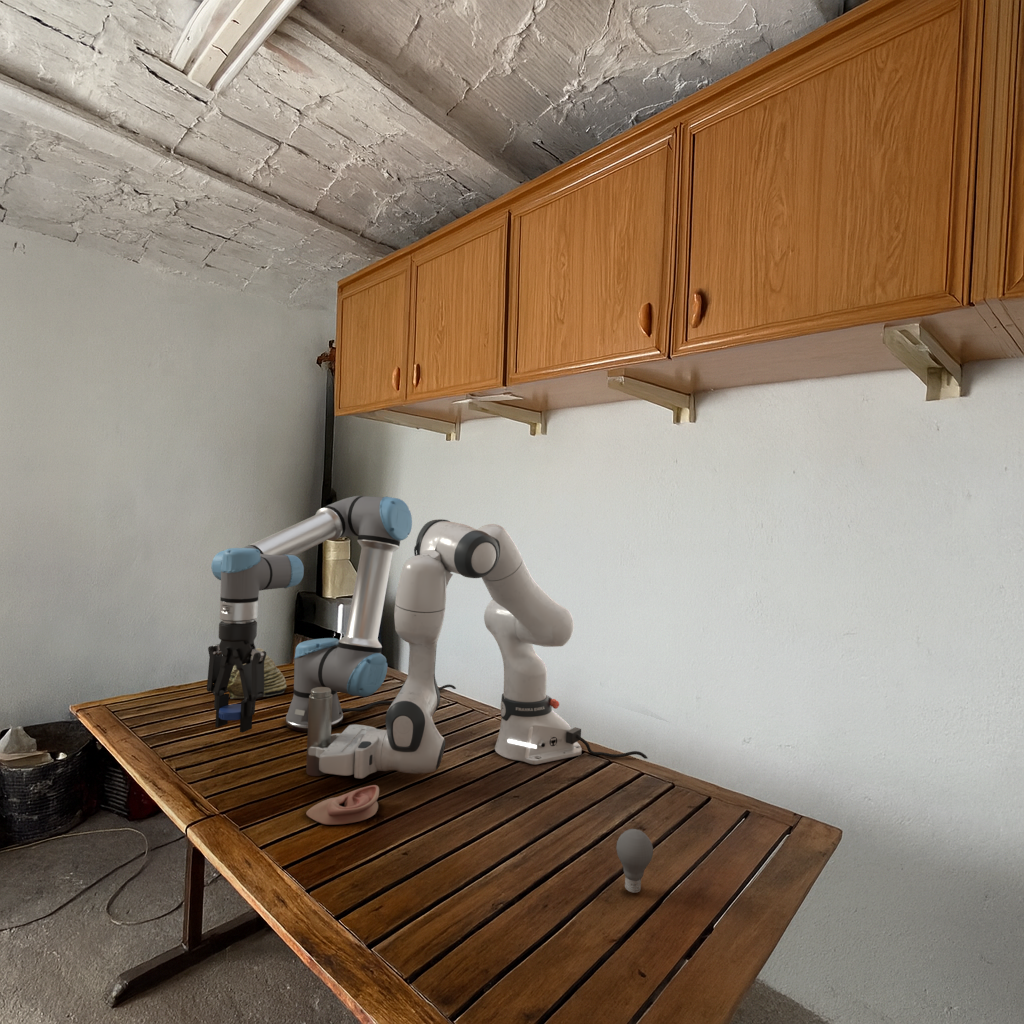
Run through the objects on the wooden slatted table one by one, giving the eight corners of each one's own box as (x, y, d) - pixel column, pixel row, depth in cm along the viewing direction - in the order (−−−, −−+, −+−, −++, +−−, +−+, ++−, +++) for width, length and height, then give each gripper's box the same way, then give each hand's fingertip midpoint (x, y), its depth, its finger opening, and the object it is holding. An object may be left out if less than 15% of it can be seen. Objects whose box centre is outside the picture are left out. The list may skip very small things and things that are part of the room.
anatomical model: (298, 800, 123) (327, 775, 135) (298, 820, 123) (326, 794, 135) (362, 810, 121) (386, 784, 132) (361, 830, 121) (385, 803, 132)
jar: (314, 765, 149) (317, 685, 149) (333, 768, 148) (336, 687, 147) (301, 774, 144) (304, 691, 144) (321, 777, 143) (325, 694, 142)
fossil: (218, 695, 195) (220, 647, 195) (278, 685, 208) (279, 640, 207) (228, 703, 189) (230, 653, 188) (289, 692, 201) (290, 645, 201)
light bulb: (610, 879, 108) (613, 822, 108) (644, 879, 109) (647, 822, 109) (619, 902, 102) (622, 840, 102) (655, 901, 103) (658, 840, 103)
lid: (217, 721, 132) (217, 713, 132) (219, 712, 138) (220, 704, 138) (248, 719, 134) (248, 711, 134) (249, 710, 140) (250, 703, 140)
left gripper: (190, 618, 135) (185, 726, 136) (261, 628, 129) (256, 741, 129) (217, 613, 142) (212, 715, 143) (286, 622, 136) (281, 729, 136)
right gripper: (387, 720, 155) (332, 715, 156) (360, 753, 135) (297, 747, 136) (386, 745, 155) (331, 741, 156) (358, 782, 135) (296, 777, 136)
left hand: (233, 727), depth 136 cm, fingers closed on lid, 6 cm apart
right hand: (315, 744), depth 146 cm, fingers closed on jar, 5 cm apart
